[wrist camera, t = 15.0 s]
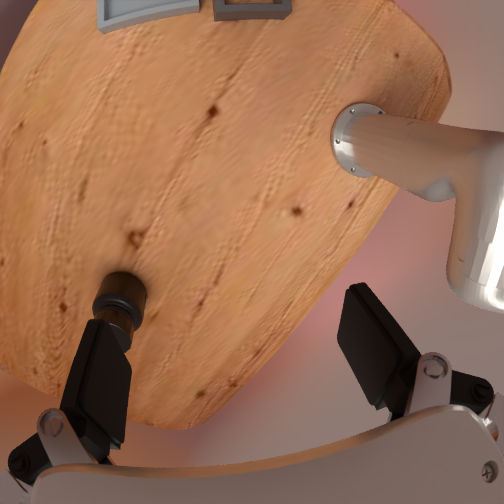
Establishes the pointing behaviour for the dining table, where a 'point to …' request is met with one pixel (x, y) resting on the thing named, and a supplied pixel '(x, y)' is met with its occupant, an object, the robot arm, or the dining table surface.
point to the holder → (251, 10)
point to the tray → (139, 12)
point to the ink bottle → (121, 306)
